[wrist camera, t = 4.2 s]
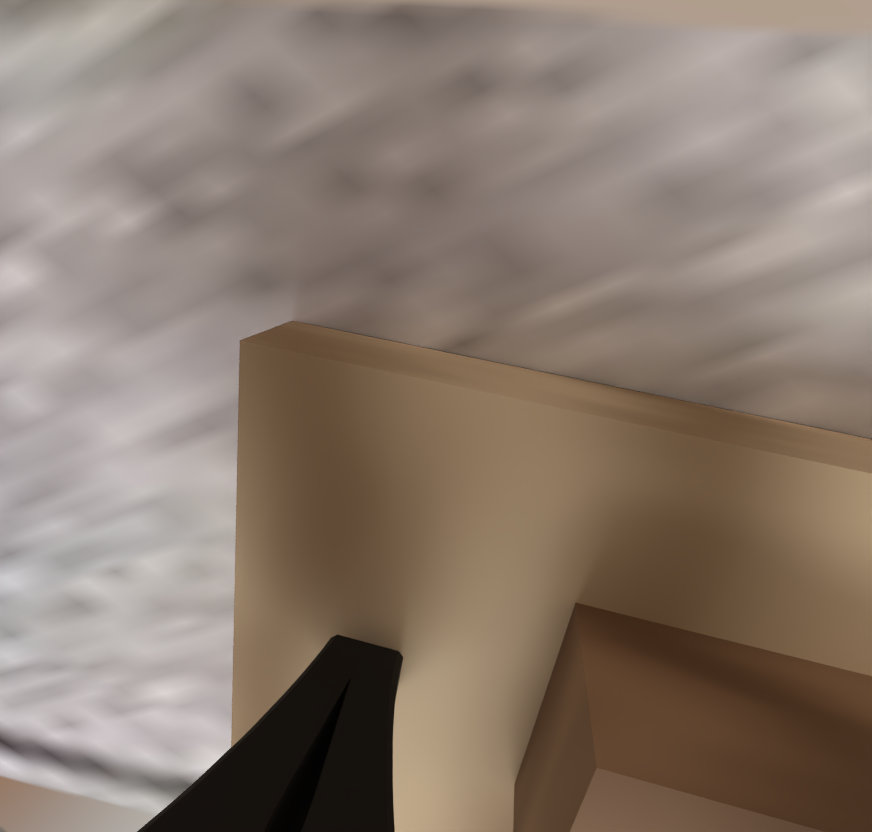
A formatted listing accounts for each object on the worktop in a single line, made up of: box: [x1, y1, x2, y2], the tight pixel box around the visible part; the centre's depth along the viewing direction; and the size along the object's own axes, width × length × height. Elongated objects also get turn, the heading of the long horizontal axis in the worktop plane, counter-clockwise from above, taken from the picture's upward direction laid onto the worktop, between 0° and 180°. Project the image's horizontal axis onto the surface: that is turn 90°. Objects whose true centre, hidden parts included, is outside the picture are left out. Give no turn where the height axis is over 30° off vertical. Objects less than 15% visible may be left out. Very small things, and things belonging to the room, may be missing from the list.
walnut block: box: [513, 603, 872, 832], centre depth 8 cm, size 6×5×3 cm
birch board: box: [231, 321, 872, 832], centre depth 11 cm, size 14×12×2 cm
